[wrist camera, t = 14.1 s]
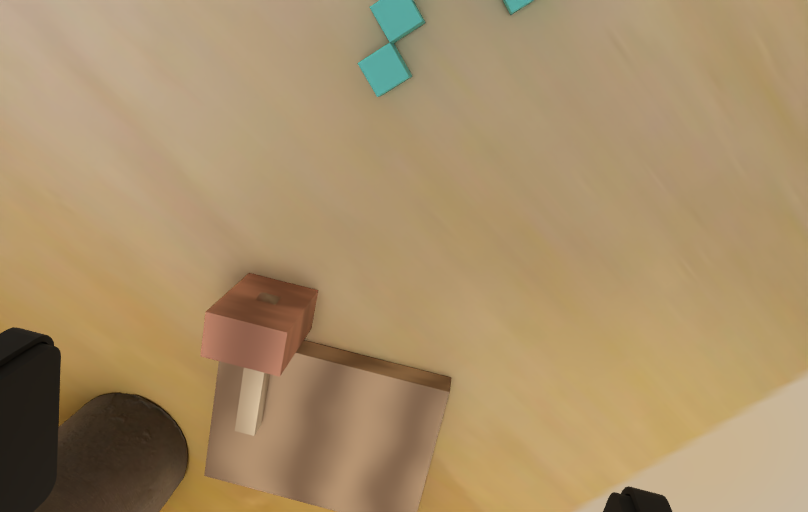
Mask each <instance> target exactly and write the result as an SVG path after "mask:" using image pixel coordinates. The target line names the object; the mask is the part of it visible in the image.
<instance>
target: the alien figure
mask: <svg viewBox="0 0 808 512" xmlns="http://www.w3.org/2000/svg"><path fill="white" fill-rule="evenodd" d="M533 1H534V0H503V2H504V4H505V6H506V7H507V9H508V11H509V13H510V15H512V14H513V13H515V12H517V11H518V10H520V9H521V8H523V7H525V6H526V5H528V4H529V3H531V2H533ZM370 9H371V10H372V12H373V14H374V16H375V18H376V19H377V21H378V23H379V25H380V26H381V28H382V30H383V32H384V33H385V35H386V37H387V39H388V40H389V42H390V43H388V44H387V45H385V46H383V47H382V48H380V49H379V50H377V51H376V52H374V53H373V54H371V55H370V56H368V57H366V58H365V59H363V60H362V61H360V62H359V63H358V65H359V67H360V68H361V70H362V72H363V73H364V75H365V77H366V79H367V80H368V82H369V84H370V85H371V87H372V89H373V91H374V92H375V94H376V96H377V97H379V96H382V95H383V94H385V93H387V92H388V91H390V90H391V89H393V88H395V87H396V86H398V85H399V84H401V83H403V82H404V81H406V80H407V79H409V78H411V77H412V75H411V73H410V71H409V69H408V68H407V66H406V64H405V62H404V60H403V59H402V57H401V55H400V53H399V52H398V50H397V48H396V46H395V45H394V43H395V42H397V41H398V40H400V39H401V38H403V37H404V36H406V35H407V34H409V33H411V32H412V31H414V30H415V29H417V28H418V27H420V26H421V25H423V24H424V23H425V21H424V19H423V17H422V15H421V14H420V12H419V10H418V8H417V6H416V5H415V3H414V1H413V0H379V1H378V2H376V3H375V4H373V5H372V6H370Z"/></svg>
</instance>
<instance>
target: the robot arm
mask: <svg viewBox="0 0 808 512" xmlns="http://www.w3.org/2000/svg"><path fill="white" fill-rule="evenodd" d="M60 363H61V354H60V350H59V349H58V348H57V347H55V346H54V342H53V340H52V338H51V337H49V336H48V335H44V334H40V333H36V332H32V331H29V330H25V329H21V328H10V329H8V330H6V331H4V332H2V333H0V512H34V511H35V510H36V509H37V508H38V507H39V506H40V505H41V504H42V503H43V502H44V501H45V500H46V499H47V497H48V496H49V495H50V493H51V491H52V489H53V487H54V485H55V482H56V477H57V454H58V423H59V393H60ZM603 512H672V510H671V507H670V505H669V503H668V501H667V499H666V498H665V497H664V496H663V495H660V494H656V493H652V492H648V491H644V490H640V489H637V488H632V487H625V489H624V490H623V491H622V493H621V494H619V493H615V492H614V493H612V494H611V495H610V496H609V498H608V501H607V503H606V506H605V508H604V511H603Z"/></svg>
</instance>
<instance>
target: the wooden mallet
mask: <svg viewBox="0 0 808 512" xmlns="http://www.w3.org/2000/svg"><path fill="white" fill-rule="evenodd" d="M317 294H318V290H315V289H311V288H307V287H303V286H299V285H295V284H291V283H287V282H283V281H279V280H275V279H271V278H267V277H263V276H259V275H255V274H251V273H249V274H247V275H246V276H245V277H244V278H243V279H242V280H241V281H240V282H238V283H237V284H236V285H235V286H234V287H233V288H232V289H231V290H230V291H228V292H227V293H226V294H225V295H224V296H223V297H222V298H221V299H219V300H218V301H217V302H216V303H215V304H214V305H213V306H212V307H211V308H209V309H208V310H207V311H206V314H205V322H204V331H203V339H202V347H201V356H202V357H206V358H209V359H213V360H217V361H221V362H225V363H229V364H232V365H236V366H240V367H244V371H243V378H242V385H241V391H240V398H239V405H238V412H237V419H236V426H235V431H237V432H241V433H245V434H248V435H252V436H255V434H256V432H257V431H258V429H259V428H260V426H261V423H262V417H263V411H264V405H265V399H266V393H267V386H268V380H269V374H271V375H275V376H279V377H280V376H281V374H282V373H283V371H284V370H285V368H286V367H287V365H288V364H289V362H290V360H291V359H292V357H293V356H294V354H295V353H296V351H297V350H298V348H299V347H300V345H301V344H302V342H303V341H304V339H305V337H306V336H307V334H308V333H309V331H310V330H311V327H312V322H313V316H314V311H315V305H316V300H317Z"/></svg>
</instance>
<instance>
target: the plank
mask: <svg viewBox="0 0 808 512" xmlns="http://www.w3.org/2000/svg"><path fill="white" fill-rule="evenodd" d="M243 371H244V367H240V366H236V365H232V364H229V363H225V362H221V361H219V366H218V374H217V382H216V389H215V397H214V405H213V413H212V420H211V428H210V436H209V444H208V452H207V459H206V467H205V475H204V476H207V477H211V478H215V479H218V480H222V481H226V482H230V483H233V484H237V485H241V486H244V487H248V488H252V489H256V490H259V491H263V492H267V493H270V494H274V495H278V496H282V497H285V498H289V499H293V500H296V501H300V502H304V503H308V504H311V505H315V506H319V507H323V508H326V509H330V510H334V511H337V512H417V510H418V507H419V503H420V499H421V496H422V492H423V488H424V485H425V481H426V477H427V474H428V470H429V466H430V463H431V459H432V455H433V452H434V448H435V444H436V441H437V437H438V433H439V429H440V426H441V422H442V418H443V415H444V411H445V407H446V404H447V400H448V396H449V393H450V384H451V378H450V377H446V376H442V375H438V374H435V373H431V372H427V371H423V370H419V369H415V368H411V367H407V366H403V365H399V364H395V363H391V362H387V361H383V360H379V359H376V358H372V357H368V356H364V355H360V354H356V353H352V352H348V351H344V350H340V349H336V348H332V347H328V346H324V345H320V344H317V343H313V342H309V341H305V340H304V341H303V342H302V344H301V345H300V347H299V348H298V350H297V351H296V353H295V354H294V356H293V357H292V359H291V360H290V362H289V364H288V365H287V367H286V368H285V370H284V371H283V373H282V374H281V376H280V377H279V376H275V375H271V374H269V380H268V386H267V393H266V399H265V405H264V411H263V417H262V423H261V426H260V428H259V429H258V431H257V432H256V434H255V436H252V435H248V434H245V433H241V432H237V431H235V426H236V419H237V412H238V405H239V398H240V391H241V385H242V378H243Z"/></svg>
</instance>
